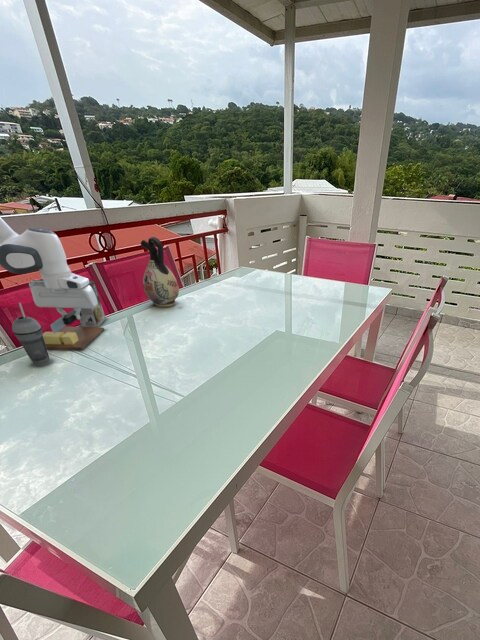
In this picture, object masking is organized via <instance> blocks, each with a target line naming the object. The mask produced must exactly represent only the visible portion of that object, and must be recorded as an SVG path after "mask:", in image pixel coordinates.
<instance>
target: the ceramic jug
mask: <svg viewBox="0 0 480 640" xmlns="http://www.w3.org/2000/svg"><path fill="white" fill-rule="evenodd" d="M140 247H142V248H143V249H146V250H147V251H148V253H149V261H148V263H147V265H146V267H145V271H144V274H143V279H142V284H143V285H142V288H143V292H144V294H145V296H146V297H147V298H148V299H149V300H150V301H151V302H152V303H153V304H154V305H155V306H156V307H159V308H168V307H172V306H174V305H175V304H176V299H177V298H178V296H179V293H180V288H179V284H178V283H179V282H178V280H177V278H176V276H175V275H174V273H173V272H172V271H171V269H170V268H169V267H168V266H167V265H166V264H165V256H164V253H165V252H164V246H163V243H162V242H161V240H160V239H159V238H158V237H156V236H151V237H149V238H148V241H147V240H145V239H142V240H141V242H140Z"/></svg>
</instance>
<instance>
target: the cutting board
mask: <svg viewBox="0 0 480 640" xmlns="http://www.w3.org/2000/svg"><path fill="white" fill-rule="evenodd" d="M104 331H105V328H104V327H103V326H102V327H101V326H98V327H82V326H64V327H63V328H62V329H60V330H59V331H58V332H64V334H65V333H67V332H76V334H77V337H78V341H77V342H76V343H74V344H73V345H65V344H64V342H63V343H62V344H46V347H47V351H84V350H85V349H86V348H87V347H89V345H90V344H91V343H92V342H94V340H96V339H97V338H98V337H99V336H100V335H101V334H102V333H103V332H104Z"/></svg>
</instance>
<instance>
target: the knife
mask: <svg viewBox="0 0 480 640" xmlns="http://www.w3.org/2000/svg"><path fill="white" fill-rule="evenodd" d="M67 313H68V314H66V315H65V316H62V315H61V317H59V318H58V319H56V320H55V321H54V322H52V323H50V324H49V327H50V329H51V332H53V333H54V334H55V333H56V332H58V331H59V330H60V329H62V328H63V327H67V326H68V325H69V326H70V325H71V324H73V323H74V322H76V321H77V320H78V319H74V317H73V315H74V314H75V313H76V311H74V309H72V310H70V311H69V312H67ZM81 316H82V314H81V311H80V317H81Z"/></svg>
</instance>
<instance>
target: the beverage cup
mask: <svg viewBox="0 0 480 640" xmlns="http://www.w3.org/2000/svg"><path fill="white" fill-rule="evenodd" d="M18 305H19V309H20V313H21V315H22V316H18V317H17V318H15V319H14V321H13V322H12V324H11V330H12V333H13V334H14V336H15V338H16V339H17V340H18V341H19V342H20V345H21V347H22V348H23V349H24V351H25V352H26V354H27V356H28V358H29V359H30V361H31V363H32V364H33V366H34V367H37V368H39V367H45V366H48V365H49V364H50V363H51V358H50V354H49V350H47V347H46V344H45V341H44V338H43V333H44V332H43V328H42V326H41V324H40V323H39V322H38V320H36V319H35V318H33V317H30V316H26V315H25V311H24V309H23V306H22V303H21V302H18Z"/></svg>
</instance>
